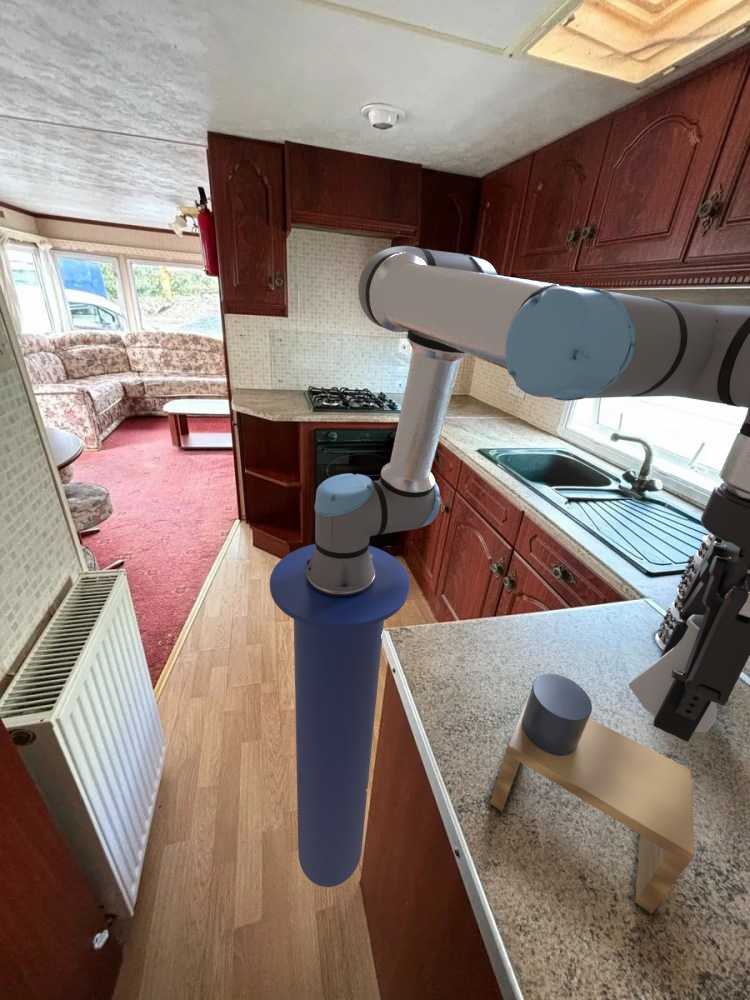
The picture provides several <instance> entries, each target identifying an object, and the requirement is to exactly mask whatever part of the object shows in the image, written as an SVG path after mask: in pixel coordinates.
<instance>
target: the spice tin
mask: <svg viewBox="0 0 750 1000" xmlns="http://www.w3.org/2000/svg"><path fill="white" fill-rule="evenodd" d="M530 690H531V692H530V691H529V692H530V695H529V694H528V695H529V698H528V702H527V705H526V708H525V711H524V714H523V717H522V725H523V729H524V731H525V733H526V735H527V736H528V738H529V739H530V740H531V741H532V742H533V743H534V744H535V745H536V746H537V747H538V748H540V749H541V750H543V751H545V752H547V753H549V754H552V755H557V756H566V755H569V754H571V753H573V752H574V751H575V749H576V748H577V745H578V743H579V741H580V738H581V736H582V733H583V731H584V729H585V726H586V724H587V721H588V719H589V718H590V717H591V714H592V711H593V704H592V701H591V699H590V696H589V695H588V694H587V692H586V691H585V689H583V688H582V687H581V685H580V684H577V682H575V681H573V680H572V679H570V678H568V677H566V676H563V675H560V674H557V673H543V674H540V675H538V676H537V677H536V678H535V679H534V681H533V683H532V685H531V688H530Z"/></svg>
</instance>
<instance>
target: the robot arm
mask: <svg viewBox="0 0 750 1000" xmlns="http://www.w3.org/2000/svg"><path fill="white" fill-rule="evenodd" d="M357 290H358V291H357V294H358V299H359V304H360V307H361V309H362V311H363V313H364V315H365V316H366V317H367V318H368V319H369V320H370V321H371V322H372V323H373V324H375V325H377V326H378V327H381V328H383V329H384V330H387V331H389V332H394V333H407V334H406V340H407V342H408V344H409V345H410V346H411V348H412V354H411V359H410V363H409V368H408V374H407V378H406V383H405V388H404V393H403V398H402V403H401V408H400V412H399V417H398V423H397V428H396V432H395V437H394V442H393V447H392V451H391V457H390V462H388V463H386V464H385V465H383V466H382V468H381V471H380V475H379V479H378V480H372V478H370V477H369V476H367V475H365V474H360V473H356V474H353V473H341V474H336V475H332V476H330V477H328V478H326V479H325V480H323V481H322V482H321V483H320V484H319V485H318V487H317V488H316V493H315V503H314V512H315V513H314V515H315V516H314V517H315V518H314V519H315V522H314V524H315V528H314V529H315V531H314V532H315V534H314V537H315V539H314V541H315V542H314V544H315V549H314V552H313V554H312V557H311V559H310V560H307V564H308V568H307V582H308V584H309V585H310V587H311V588H312V589H313V590H315V591H316V592H318V593H320V594H322V595H325V596H329V597H334V598H348V597H354V596H357V595H360V594H362V593H364V592H366V591H367V590H369V589H370V588H371V587H372V585H373V583H374V580H375V569H374V565H373V563H372V559H371V558H372V557H373V553H372V554H371V555H370V552H369V546H370V537H374V536H378V535H385V534H392V533H397V532H403V531H413V530H417V529H419V528H423V527H426V526H428V525H431V523H433V521H434V520H435V519H436V517H437V515H438V513H439V511H440V506H441V498H439V496H440V488H439V486H438V484H437V482H436V478H435V476H434V475H433V472H431V470H432V467H433V463H434V459H435V455H436V452H437V448H438V445H439V441H440V437H441V435H442V430H443V427H444V423H445V419H446V416H447V412H448V408H449V404H450V401H451V397H452V394H453V389H454V386H455V383H456V379H457V375H458V371H459V368H460V364H461V361H462V360H463V359H464V358H465V357H467V356H473V357H475V358H477V359H480V360H483V361H484V362H487V363H489V364H492V365H495V366H498V367H500V368H502V369H504V370H507V372H508V375H510V377H512V379H513V382H515V386H516V387H517V388H518V389H519V390H521V391H522V392H524V393H526V395H527V394H528V395H530V396H533V397H538V398H549V399H554V400H557V401H564V402H566V401H577V400H579V401H580V400H584V399H601V398H602V399H606V398H608V399H609V398H636V397H637V398H640V397H641V398H645V397H647V398H648V397H649V398H650V397H678V398H685V399H691V400H697V401H702V402H703V401H704V402H711V403H715V404H722V405H726V406H731V407H738V408H741V407H742V408H747V412H746V415H745V418H744V420H743V422H742V424H741V427H740V428H739V430H738V431H737V433H736V435H735V437H734V440H733V442H732V444H731V447H730V449H729V452H728V454H727V456H726V459H725V461H724V463H723V465H722V467H721V470H720V472H719V475H718V476H719V478H720V480H721V481H722V482H721V483H719V484H718V485H715V486H714V488H713V490H712V491H711V494H710V496H709V498H708V501H707V503H706V505H705V508H704V510H703V512H702V515H701V517H700V522H701V525H702V527H703V528H704V529H705V530H706V531H707V532H709V534H710V535H711V534H713V535H714V536H713V539H712V541H711V544H710V546H709V548H708V550H707V552H706V554H705V556H704V558H703V560H702V562H701V564H700V566H699V567H698V569H697V571H696V573H695V575H694V577H693V579H692V581H691V583H690V585H689V587H688V589H687V591H686V593H685V594H684V596H683V597H682V598H681V605H682V606H684V607H683V609H681V611H680V612H679V615H680V616H679V619H681V620H683V621H682V622H680V621H677V623H676V625H675V627H674V629H673V631H672V634H671V636H670V638H669V640H668V642H667V644H666V646H665V648H664V650H663V649H662V653H661V655H660V656H659V659H660V658H661V657H662V656H664V655H665V654H666V653H667V652H669V651H670V650H671V649H673V648H674V647H675V646H676V645H677V644H678V643H679V642H680V640H681V639H682V638H683V637H684V635H685V633H686V631H687V629H688V625H687V624H686V622H687V620H688V619H689V618H690V617H691V616H692V615H704V618H703V621H702V623H701V626H700V629H699V631H698V634H697V637H696V640H695V642H694V645H693V648H692V651H691V653H690V656H689V659H688V661H687V664H686V667H685V670H684V672H682V671H677V670H675V669H673V671H672V678H675V679H674V681H673V683H672V685H671V687H670V689H669V691H668V693H667V695H666V697H665V699H664V701H663V703H662V705H661V707H660V709H659V711H658V713H657V715H656V716H655V717H654V719H653V727H654V728H657V729H659V730H661V731H663V732H665V733H667V734H670V735H671V736H673V737H676V738H678V739H679V740H682V741H684V742H686V743H689V741H690V739H691V738H692V737H693V735H694V733H695V732H694V731H695V729H696V728H697V726H698V724H699V722H700V721H701V719H702V717H703V715H704V714H705V712H706V710H707V708H708V707H709V705H710V703H711V701H712V702H715V703H716V704H717V705H719V706H721V707H724V706H726V705H727V703H728V701H729V698H730V696H731V694H732V692H733V690H734V688H735V687H736V684H737V682H738V681H739V678H740V677H741V674H742V672H743V670H744V668H745V666H746V664H747V662H748V660H749V658H750V305H749V306H748V305H746V306H745V305H713V304H712V305H710V304H700V303H692V302H686V301H679V300H678V301H677V300H670V299H662V298H656V297H655V298H654V297H644V296H638V295H632V294H626V293H621V292H613V291H608V290H604V289H601V288H594V287H589V286H582V285H561V284H560V285H559V284H557V283H552V282H545V281H538V280H531V279H525V278H524V279H523V278H517V277H510V276H504V275H498V272H497V270H496V269H495V268H494V266H493V264H491V263H490V262H488V261H487V260H485V259H484V258H479V257H476V256H472V255H469V254H467V253H466V254H465V253H457V252H448V251H443V250H442V251H441V250H432V249H426V248H420V247H417V246H408V245H401V246H400V245H399V246H392V247H389V248H388V247H387V248H386V249H382V250H381V251H380V252H378V253H376V254H375V255H373V256H372V257H371V258H370V259H369V260H368V261H367V263H366V264H365V266H364V267H363V270H362V271H361V274H360V276H359V281H358V288H357Z"/></svg>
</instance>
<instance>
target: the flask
mask: <svg viewBox="0 0 750 1000" xmlns="http://www.w3.org/2000/svg"><path fill="white" fill-rule="evenodd" d="M703 618H704V615H692V616H691V617H690V618H689V619H688V620H687V622H686V624H687V625H688V629H687V631H686V633H685V635H684V637H683V638H682V639H681V640H680V642H679V643H678V644H677V645H676V646H675V647H674V648H673V649H671V650H670V651H669V652H667V653H666V654H665V655H664V656H662V657H661V656H660V657H661V658H660V657H659V658H658V659H656V660H655V661H653V662H652V663H651V664H650V665H648V666H646V667H645V668H644V669H643V670H642V671H640V672H638V674H637V675H636V676H635V677H634V678H633V679H632V680H631V681H630V682H629V683H628V687H629V688H630V690H631V691H632V693H633V694H634V695H635V696H636V698H637V700H638V701H639V702H640V704H641V705H642V707H643V709H644V710H646V711H647V712H648V713H650V714H652V715H653V716H655V717H656V715H657V713H658V711H659V709H660V707H661V705H662V703H663V701H664V699H665V697H666V695H667V693H668V691H669V689H670V687H671V685H672V683H673V681H674V679H675V678H672V671H673V669H675V670H677V671H682V672H684V670H685V667H686V664H687V661H688V659H689V656H690V653H691V651H692V648H693V645H694V642H695V640H696V637H697V634H698V631H699V629H700V626H701V623H702V621H703ZM716 719H718V704H717V703H715V702H712V701H711V703H710V705H709V707H708V708H707V710H706V712H705V714H704V715H703V717H702V719H701V721H700V722H699V724H698V726H697V728H696V729H695V731H694V733H708V732H709V730H710V729H711V727H712V726H713V724H714V723H715V721H716Z"/></svg>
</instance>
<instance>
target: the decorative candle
mask: <svg viewBox="0 0 750 1000" xmlns="http://www.w3.org/2000/svg"><path fill="white" fill-rule="evenodd" d="M713 536H714V535H713V534H711V533H710V534H705V535H703V536H702V537H701V540H702V542H701V544H700V547H699V549H698V550H697V551H696V552H695V554H693V555H690V556H689V558H688V559H687V561H686V562H687V565H686V566H685V569H683V573H682V574H681V576H680V579H681V580H680V581H679V584H678V585H677V588H676V594H677V595H676V599H675V600H674V601H672V604H671V605H670V606H669V607H668V609H667V610H666V614H665V616H663V620H662V621H661V622H660V624H659V628H657V633H656V634H655V636H654V637H655V639H654V640H655V642H656V644H657V646H658V647H659V648H660V649H661V650H662V651H663V650H664V648H665V646H666V644H667V642H668V640H669V638H670V636H671V634H672V631H673V629H674V627H675V625H676V623H677V621H680V622H682V621H683V620H681V619H679V616H680V615H679V612H680V611H681V609H683V607H684V606H682V605H681V598H682V597H683V596H684V594H685V593H686V591H687V589H688V587H689V585H690V583H691V581H692V579H693V577H694V575H695V573H696V571H697V569H698V567H699V566H700V564H701V562H702V560H703V558H704V556H705V554H706V552H707V550H708V548H709V546H710V544H711V541H712V539H713Z"/></svg>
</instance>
